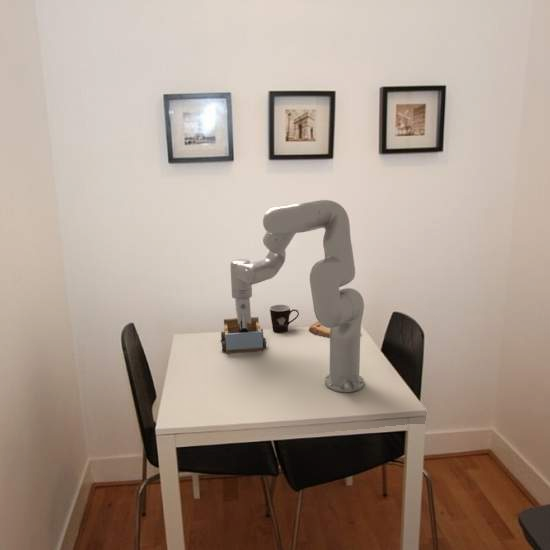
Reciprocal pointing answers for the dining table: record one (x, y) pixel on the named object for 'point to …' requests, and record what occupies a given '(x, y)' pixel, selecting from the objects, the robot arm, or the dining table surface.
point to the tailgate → (244, 340)
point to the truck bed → (233, 327)
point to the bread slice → (320, 330)
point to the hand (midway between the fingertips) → (243, 338)
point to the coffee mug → (281, 318)
